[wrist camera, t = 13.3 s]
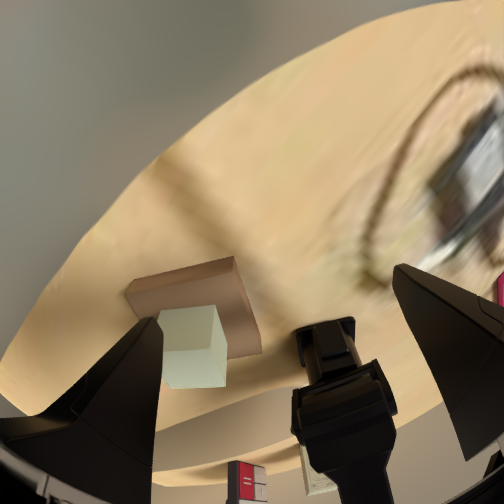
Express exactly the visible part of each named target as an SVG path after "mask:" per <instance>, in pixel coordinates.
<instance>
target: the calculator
mask: <svg viewBox="0 0 504 504" xmlns="http://www.w3.org/2000/svg"><path fill="white" fill-rule="evenodd" d="M266 483H267V479H266V469H265V468H264V467H260V466H256V465H252V464H248V463H244V462H241V461H233V462H229V463H228V499H227V501H226V504H267V500H268V494H267V486H266Z"/></svg>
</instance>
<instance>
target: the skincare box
mask: <svg viewBox="0 0 504 504" xmlns="http://www.w3.org/2000/svg"><path fill="white" fill-rule="evenodd" d="M299 452H300V458H301V464H302V471H303V477H304V483H305V490H306V495H307V496H308V495H314V494H320V493H324V492H329V491H334V490H336V489H338V487H337V485H336V484H335V483H334V482H333V481H331V480H330V479H329V478H328V477H326V476H325V475H324V474H323V473H321V474H318V473H317V472H316V471H315V470H314V469H313V468H312V467H311V466H310V463H309V458H308V454H307V451H306V447H305V446H304V447H303V446H301V445H300V447H299Z"/></svg>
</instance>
